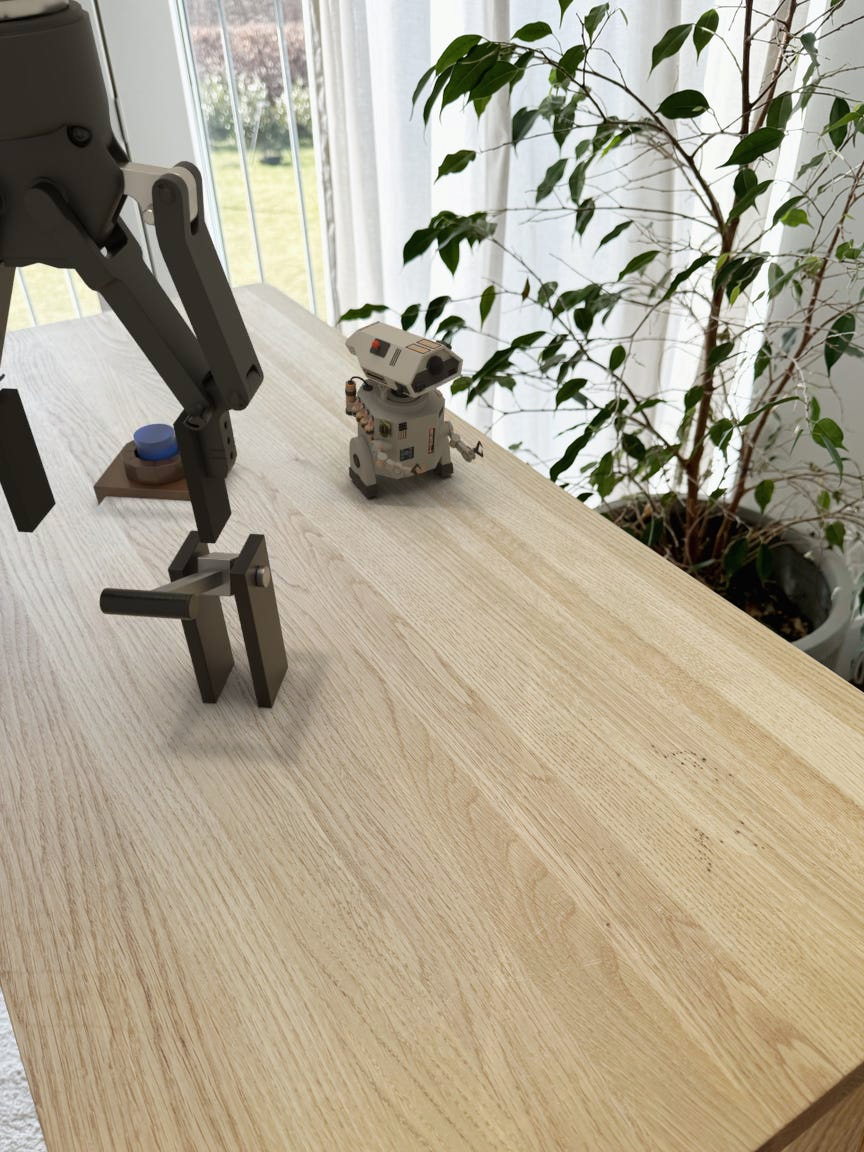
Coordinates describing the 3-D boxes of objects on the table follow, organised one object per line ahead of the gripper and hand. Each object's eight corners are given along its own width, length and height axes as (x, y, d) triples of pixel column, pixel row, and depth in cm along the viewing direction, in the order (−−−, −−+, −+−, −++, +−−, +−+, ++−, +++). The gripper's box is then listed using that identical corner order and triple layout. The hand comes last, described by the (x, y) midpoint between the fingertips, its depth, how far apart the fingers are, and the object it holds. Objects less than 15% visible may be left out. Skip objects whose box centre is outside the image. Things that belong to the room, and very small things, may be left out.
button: (132, 462, 91) (126, 441, 89) (147, 442, 93) (141, 422, 92) (170, 464, 90) (165, 443, 89) (184, 444, 93) (179, 424, 92)
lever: (188, 631, 54) (188, 587, 53) (99, 625, 54) (97, 581, 54) (266, 591, 66) (266, 555, 66) (193, 586, 67) (192, 550, 66)
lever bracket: (284, 751, 68) (255, 603, 60) (171, 742, 69) (126, 595, 61) (319, 655, 76) (298, 511, 67) (217, 648, 76) (182, 505, 68)
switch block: (98, 507, 92) (87, 469, 89) (132, 462, 98) (122, 425, 95) (204, 513, 91) (196, 474, 88) (231, 467, 97) (224, 430, 94)
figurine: (393, 532, 88) (381, 372, 78) (343, 473, 96) (326, 320, 86) (484, 504, 91) (483, 348, 82) (429, 449, 99) (421, 300, 89)
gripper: (-372, 17, 35) (-114, 552, 49) (233, 22, 33) (315, 579, 47) (-230, -16, 40) (-37, 473, 55) (293, -13, 38) (349, 494, 53)
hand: (126, 522), depth 51 cm, fingers open, 9 cm apart
